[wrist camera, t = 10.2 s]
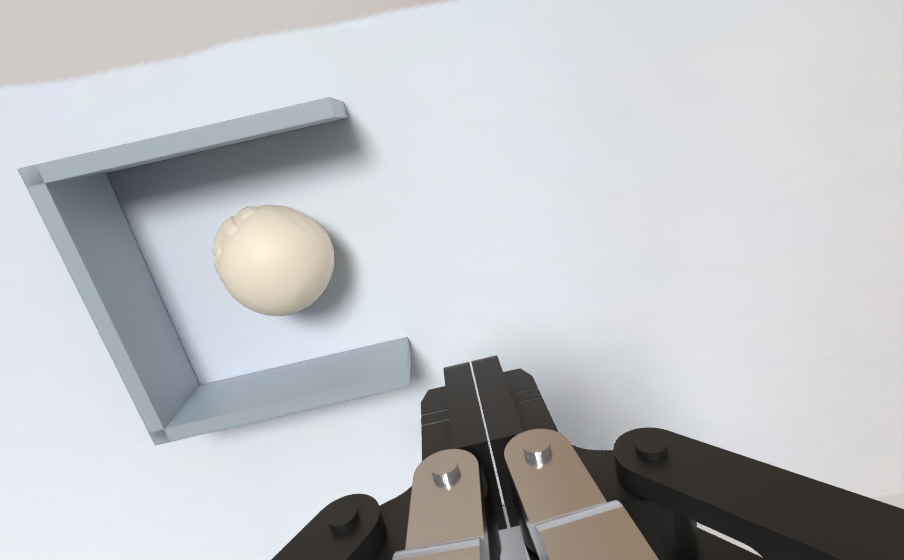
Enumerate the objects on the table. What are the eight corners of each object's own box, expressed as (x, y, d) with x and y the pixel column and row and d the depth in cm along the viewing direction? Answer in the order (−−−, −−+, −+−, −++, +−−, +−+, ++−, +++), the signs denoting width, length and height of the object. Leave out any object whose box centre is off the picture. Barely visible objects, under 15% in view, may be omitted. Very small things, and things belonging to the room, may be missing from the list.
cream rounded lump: (262, 174, 32) (225, 187, 26) (358, 233, 34) (345, 259, 27) (216, 257, 34) (170, 289, 27) (310, 310, 35) (287, 351, 29)
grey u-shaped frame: (343, 101, 31) (329, 97, 26) (410, 348, 37) (410, 386, 32) (84, 161, 31) (17, 168, 26) (191, 399, 37) (154, 445, 31)
